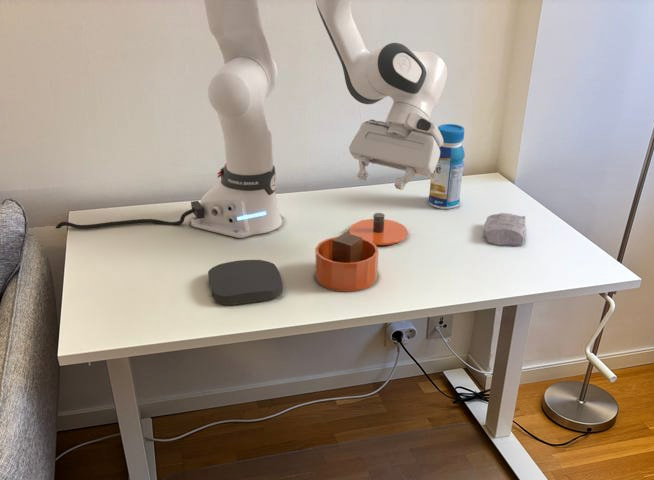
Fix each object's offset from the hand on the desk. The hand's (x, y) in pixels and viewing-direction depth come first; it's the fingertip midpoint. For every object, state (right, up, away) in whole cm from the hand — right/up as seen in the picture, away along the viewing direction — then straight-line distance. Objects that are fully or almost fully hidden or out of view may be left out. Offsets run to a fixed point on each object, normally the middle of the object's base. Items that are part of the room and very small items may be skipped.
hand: (379, 183), depth 155 cm
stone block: (+31, -8, +20) cm, 38 cm away
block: (-7, -20, +1) cm, 21 cm away
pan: (-7, -20, +1) cm, 21 cm away
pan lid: (+1, -7, +19) cm, 20 cm away
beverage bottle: (+19, +3, +36) cm, 40 cm away
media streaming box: (-29, -23, -3) cm, 37 cm away
